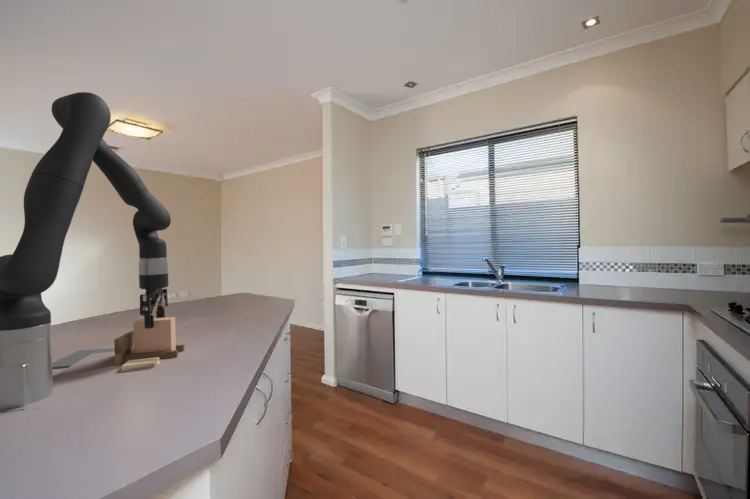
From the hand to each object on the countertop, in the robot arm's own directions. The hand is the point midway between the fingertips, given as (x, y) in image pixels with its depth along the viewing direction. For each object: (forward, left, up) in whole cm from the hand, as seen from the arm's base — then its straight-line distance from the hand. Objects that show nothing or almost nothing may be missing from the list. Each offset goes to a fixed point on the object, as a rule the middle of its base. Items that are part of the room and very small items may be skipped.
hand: (155, 324), depth 102 cm
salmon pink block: (0, 0, -10) cm, 10 cm away
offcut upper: (-10, 0, -10) cm, 14 cm away
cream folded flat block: (-10, 0, -11) cm, 15 cm away
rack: (0, 0, -10) cm, 10 cm away
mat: (+6, +20, -10) cm, 23 cm away
